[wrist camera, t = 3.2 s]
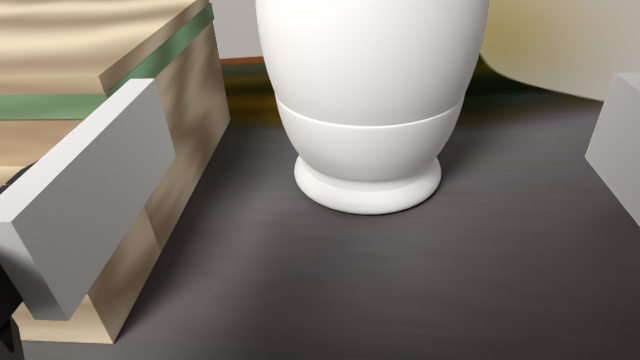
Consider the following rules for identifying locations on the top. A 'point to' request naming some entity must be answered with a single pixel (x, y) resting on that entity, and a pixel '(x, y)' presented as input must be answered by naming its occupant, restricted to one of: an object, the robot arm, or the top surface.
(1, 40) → the step stand
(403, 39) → the jar
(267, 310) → the top surface
